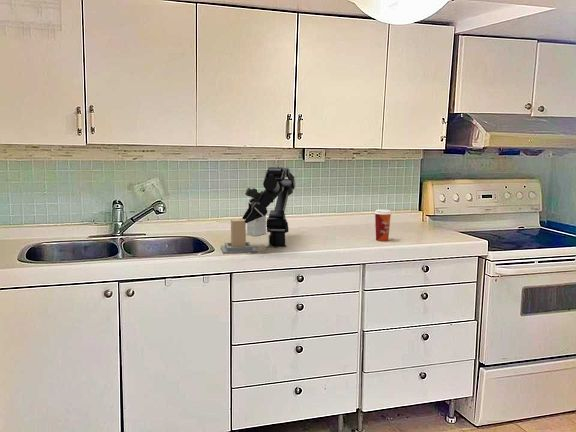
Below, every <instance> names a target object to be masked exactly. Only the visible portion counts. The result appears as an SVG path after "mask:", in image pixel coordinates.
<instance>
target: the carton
mask: <svg viewBox="0 0 576 432" xmlns="http://www.w3.org/2000/svg"><path fill="white" fill-rule="evenodd" d="M245 220H246V219H245ZM245 220H244V219H242V218H232V219H230V243H231V247H246V242H247V238H246V236H247V223H245V222H244V221H245Z"/></svg>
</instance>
